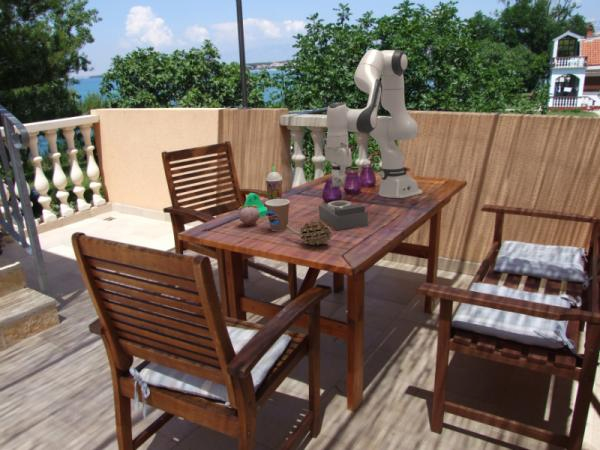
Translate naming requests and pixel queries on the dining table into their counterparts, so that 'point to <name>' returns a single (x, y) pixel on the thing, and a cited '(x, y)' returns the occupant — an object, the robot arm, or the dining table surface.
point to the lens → (337, 176)
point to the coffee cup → (278, 214)
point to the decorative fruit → (248, 214)
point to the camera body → (343, 215)
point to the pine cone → (314, 232)
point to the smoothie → (274, 185)
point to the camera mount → (254, 200)
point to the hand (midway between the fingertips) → (338, 174)
